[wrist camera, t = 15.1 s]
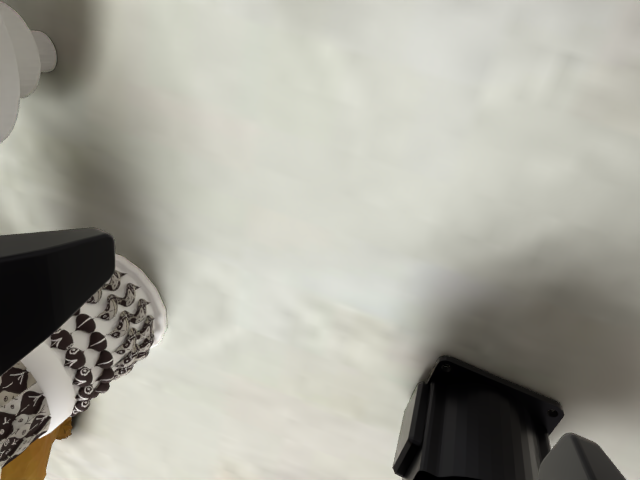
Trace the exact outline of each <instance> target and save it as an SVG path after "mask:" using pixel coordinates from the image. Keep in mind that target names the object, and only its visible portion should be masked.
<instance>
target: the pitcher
mask: <svg viewBox="0 0 640 480" xmlns="http://www.w3.org/2000/svg"><path fill="white" fill-rule="evenodd" d="M71 420H72V418H71V417H68V418H67V419H66V420H64V421H63V422H62V423H61V424H60V425H59V426H58V427H56V428H55V429H54V430H53V431H52V432H51V433H49V434H47V435H45V436H43V437H41V438H38V439H37V440H35V441H34V442H33V443H32V444H30V445H29V446H28V447H27V449H26V450H25V451H24V452H22V453H21V454H20V455H19V456H18V457H16V458H15V459H14V460H12V461H11V462H10V463H8V464H7V465H6V466H4V467H3V468H2V470H1V478H0V480H44V478H45V476H46V467H47V463H48V459H49V455H50V450H51V446H52V443H53V442H54V440H55V439H58V440H61V439H64V438H66V437H67V438H68V436H70V435H72V433H71V429H72V428H73V427H72V426H71V423H72V421H71Z"/></svg>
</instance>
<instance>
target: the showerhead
mask: <svg viewBox="0 0 640 480" xmlns="http://www.w3.org/2000/svg"><path fill="white" fill-rule="evenodd" d="M56 63H57V55H56V50H55V47H54V45H53V43H52V41H51V40H50V38H49V37H48V36H47V35H46V34H44V33H43V32H41V31H33V30H30V29H29V28H28V26H27V24H26V23H25V21H24V20H23V19H22V17H21V16H20V15H19V14H18V13H17V12H16V11H15V10H14V9H12V8H11V7H10V6H8V5H7V4H5V3H4V2H2V1H0V143H2V142H3V141H4V140H5V139H6V138H7V137H8V136H9V134H10V133H11V131H12V129H13V127H14V125H15V122H16V120H17V116H18V111H19V103H20V98H25V97H28V96H29V95H30V94H32V93H33V92H34V91H35V89H36V87H37V85H38V83H39V79H40V73H41V72H50V71H52V70H53V69H54V68H55V66H56Z"/></svg>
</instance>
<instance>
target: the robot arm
mask: <svg viewBox="0 0 640 480" xmlns="http://www.w3.org/2000/svg"><path fill="white" fill-rule="evenodd" d="M114 272H115V240H114V237H113V236H112V235H111V234H110V233H107V232H105V231H103V230H100V229H98V228H81V229H70V230H59V231H47V232H36V233H24V234H13V235H2V236H0V377H1V376H2V375H3V374H4V373H6V372H7V371H8V370H9V369H11V368H12V367H13V366H14V365H15V364H17V363H18V362H19V361H20V360H22V359H23V358H24V357H25V356H27V355H28V354H29V353H30V352H31V351H33V350H34V349H35V348H36V347H38V346H39V345H40V344H41V343H43V342H44V341H45V340H46V339H47V338H49V337H50V336H51V335H52V334H53V333H54V332H56V331H57V330H58V329H59V328H60V327H61V326H62V325H63V324H64V323H65V322H66V321H67V320H68V319H69V318H71V317H72V316H73V315H74V314H75V313H76V312H77V311H78V310H79V309H80V308H81V307H82V306H83V305H84V304H85V303H86V302H87V301H88V300H89V299H90V298H91V297H92V296H93V295H94V294H95V293H96V292H97V291H98V290H99V289H100V288H101V287H102V286H103V285H104V284H105V283H106V282H108V281H109V280H110V278H111V277H112V276H113V274H114ZM444 364H447V365H449V366H450V367H445V366H443V365H444ZM551 409H553V410H555V411H548V410H551ZM563 416H564V413H563V408H562V405H561V404H560V403H559V402H557V401H555V400H552V399H550V398H548V397H545V396H543V395H540V394H538V393H536V392H533V391H531V390H529V389H526V388H524V387H521V386H519V385H517V384H514V383H512V382H510V381H507V380H505V379H502V378H500V377H498V376H495V375H493V374H490V373H488V372H486V371H483V370H481V369H479V368H476V367H474V366H471V365H469V364H467V363H464V362H462V361H459V360H457V359H455V358H452V357H450V356H441V357H440V358H439V359H438V360H437V362H436V364H435V366H434V368H433V370H432V372H431V374H430V376H429V378H428V380H427V382H426V383H425V382H421V383H418V385H417V387H416V389H415V391H414V393H413V395H412V397H411V399H410V401H409V403H408V405H407V407H406V409H405V411H404V416H403V420H402V425H401V430H400V435H399V439H398V444H397V449H396V453H395V458H394V463H393V470H394V472H395V474H397V475H399V476H401V477H402V480H626V479H625V478H624V476H623V475H622V474H621V473H620V471H619V470H618V469H617V467H616V466H615V465H614V464H613V462H612V461H611V460H610V459H609V457H608V456H607V455H606V454H605V452H604V451H603V450H602V449H601V448H600V446H599V445H597V444H596V443H595V442H593V441H591V440H588V439H586V438H584V437H581V436H579V435H577V434H574V433H566V434H564V435H563V436H562V437H561V439H560V440H559V441H558V442H557V443H556V445H555V446H554V447H553V448H552V450H551V446H550V441H549V435H550V433H551V432H552V431H553V430H554V428H555V427H556V426H557V425H558V423H559V422H560V421H561V419H562V418H563Z"/></svg>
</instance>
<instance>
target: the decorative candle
mask: <svg viewBox="0 0 640 480" xmlns="http://www.w3.org/2000/svg"><path fill="white" fill-rule="evenodd" d="M166 329H167V319H166V309H165V306H164V304H163V302H162V299H161V297H160V295H159V292H158V290H157V288H156V287H155V286H154V285H153V283H152V282H151V281H150V280H149V278H148V277H147V276H146V275H145V273H144V272H143V271H142V270H141V269H140V268H138V267H137V266H136V265H134V264H133V263H132V262H130V261H129V260H127V259H126V258H125V257H123V256H121V255H117V254H115V272H114V274H113V276H112V277H111V278H110V280H109V281H108V282H106V283H105V284H104V285H103V286H102V287H101V288H100V289H99V290H98V291H97V292H96V293H95V294H94V295H93V296H92V297H91V298H90V299H89V300H88V301H87V302H86V303H85V304H84V305H83V306H82V307H81V308H80V309H79V310H78V311H77V312H76V313H75V314H74V315H73V316H72V317H71V318H69V319H68V320H67V321H66V322H65V323H64V324H63V325H62V326H61V327H60V328H59V329H58V330H57V331H56V332H54V333H53V334H52V335H51V336H50V337H49V338H47V339H46V340H45V341H44V342H43V343H41V344H40V345H39V346H38V347H36V348H35V349H34V350H33V351H31V352H30V353H29V354H28V355H27V356H25V357H24V358H23V359H22V360H20V361H19V362H18V363H17V364H15V365H14V366H13V367H12V368H11V369H9V370H8V371H7V372H6V373H4V374H3V375H2V376H1V377H0V478H1V470H2V468H3V467H4V466H6V465H7V464H8V463H10V462H11V461H12V460H14V459H15V458H16V457H18V456H19V455H20V454H21V453H22V452H24V451H25V450H26V449H27V447H28V446H29V445H30V444H32V443H33V442H34V441H35V440H37V439H38V438H41V437H43V436H45V435H47V434H49V433H51V432H52V431H53V430H54V429H55V428H56V427H58V426H59V425H60V424H61V423H62V422H63V421H64V420H66V419H67V418H68V417H73V416H75V415H77V413H78V412H83V411H85V410H86V409H88V407H89V405H90V401H89V400H90V399H91V398H95V397H97V396H98V394H99V393H104V392H106V391H108V389H109V387H110V385H109V382H111V381H112V380H116V379H118V378H119V377H120V376H123V375H126V374H127V373H129V372H130V371H131V370H132V368H133V365H134V364H135V363H136V362H137V361H140V360H142V359H144V358H145V357H147V355H148V354H149V349H151V348H152V347H154V346H156V345H157V344H159V343H160V342H161V341H162V339H163V336H164V334H165V332H166Z"/></svg>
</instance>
